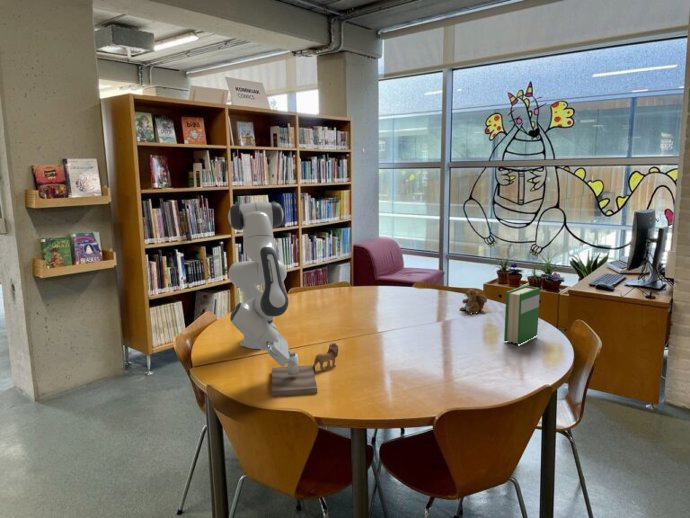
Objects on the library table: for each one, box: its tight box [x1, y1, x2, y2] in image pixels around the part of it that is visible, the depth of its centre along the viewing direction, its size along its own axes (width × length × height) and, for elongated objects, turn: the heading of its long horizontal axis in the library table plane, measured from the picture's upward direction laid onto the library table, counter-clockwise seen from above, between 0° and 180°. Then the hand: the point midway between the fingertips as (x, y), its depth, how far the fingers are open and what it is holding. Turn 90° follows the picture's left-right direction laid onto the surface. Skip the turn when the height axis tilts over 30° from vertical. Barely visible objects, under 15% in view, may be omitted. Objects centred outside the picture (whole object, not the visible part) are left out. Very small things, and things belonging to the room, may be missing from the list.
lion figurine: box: [312, 342, 339, 373], centre depth 201 cm, size 15×5×9 cm, turn 143°
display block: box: [271, 364, 318, 397], centre depth 188 cm, size 22×16×2 cm
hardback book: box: [503, 285, 541, 345], centre depth 232 cm, size 18×7×24 cm, turn 134°
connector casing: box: [287, 351, 299, 376], centre depth 187 cm, size 4×4×8 cm
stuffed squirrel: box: [459, 288, 488, 314], centre depth 283 cm, size 10×14×13 cm
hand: (294, 362), depth 187 cm, fingers closed on connector casing, 4 cm apart
